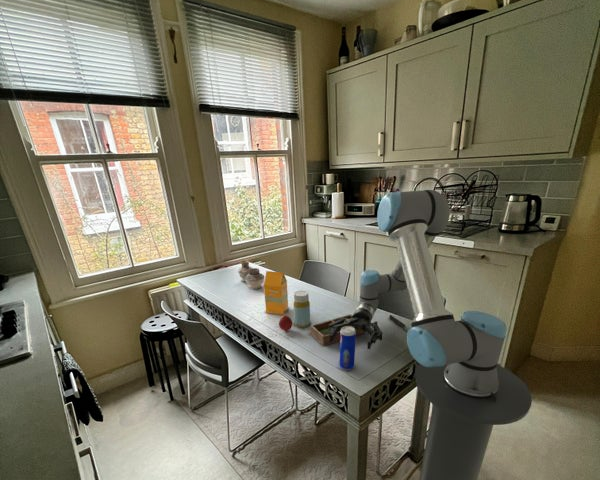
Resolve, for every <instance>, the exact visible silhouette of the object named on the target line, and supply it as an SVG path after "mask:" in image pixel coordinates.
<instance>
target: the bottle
mask: <svg viewBox="0 0 600 480" xmlns="http://www.w3.org/2000/svg"><path fill="white" fill-rule="evenodd" d="M309 297H310V296H309V292H308V291H307V290H297V291H295V292H294V293H293V298H294V300H293V318H294V325H295V326H296V327H297V328H307V327H308V326H309V325H310V324H311V303H310V300H309Z"/></svg>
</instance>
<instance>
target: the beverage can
mask: <svg viewBox="0 0 600 480" xmlns="http://www.w3.org/2000/svg"><path fill="white" fill-rule="evenodd" d="M356 336H357V335H356V331H355V329H354V328H353V327H351V326H345V327H342V328H341V331H340V341H339V367H340V368H341V369H342V370H344V371H350V370H352V369H354V368H355V361H356V338H357V337H356Z"/></svg>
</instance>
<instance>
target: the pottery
mask: <svg viewBox="0 0 600 480" xmlns="http://www.w3.org/2000/svg"><path fill="white" fill-rule="evenodd" d="M240 264H241V267H239V269H238V270H237V273H238V275H239V277H240V278H241V281H242V282H245V283H246V284H247V285H248V286H249V287H250V289H252V290H257V289H260V288H261V285H262V284H264V282H265V275H264V274H263V273H260V268H257V267H251V266H250V261H249V260H247V259H245V260H244V259H243V260H240Z"/></svg>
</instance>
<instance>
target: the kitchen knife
mask: <svg viewBox="0 0 600 480" xmlns="http://www.w3.org/2000/svg"><path fill="white" fill-rule="evenodd" d="M389 320H390V321H393V322H394V323H395V324H396V325H397V326H399V327H401V328H403V330H405V331H407V332H408V331H409V330H410V329H411V327H408V326H407V325H406V324H405V323H403V321H401V320H400V319H398V318H396V317H394V315H391V314H389Z"/></svg>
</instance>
